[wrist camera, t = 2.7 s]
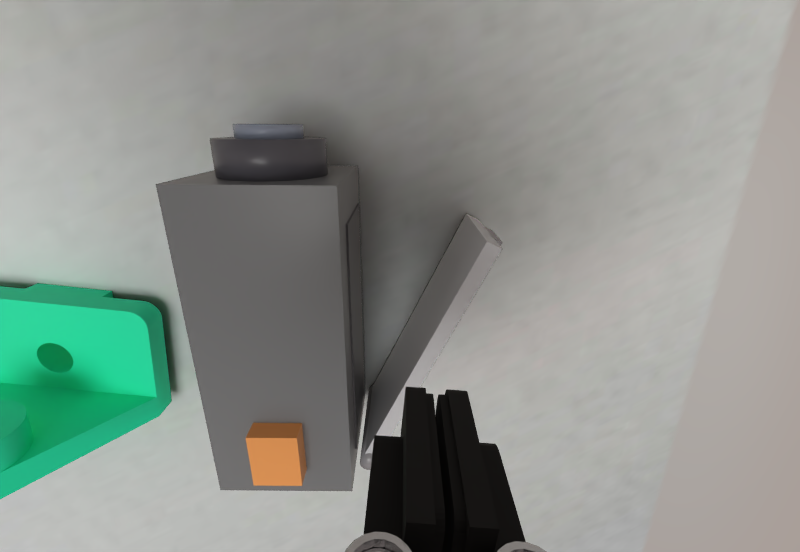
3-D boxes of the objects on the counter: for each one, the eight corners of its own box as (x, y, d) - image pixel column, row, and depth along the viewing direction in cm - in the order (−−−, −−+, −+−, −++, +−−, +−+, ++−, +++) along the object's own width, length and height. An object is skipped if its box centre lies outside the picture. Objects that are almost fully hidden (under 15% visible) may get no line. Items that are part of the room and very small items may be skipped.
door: (464, 212, 23) (485, 241, 17) (484, 222, 24) (513, 254, 18) (366, 393, 28) (357, 466, 22) (384, 400, 28) (379, 474, 22)
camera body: (231, 124, 22) (124, 123, 13) (358, 125, 22) (332, 124, 13) (268, 394, 28) (212, 507, 20) (366, 394, 28) (351, 508, 20)
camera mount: (169, 295, 26) (33, 396, 16) (179, 391, 29) (68, 525, 19) (-19, 276, 25) (-274, 367, 16) (9, 375, 28) (-194, 504, 19)
